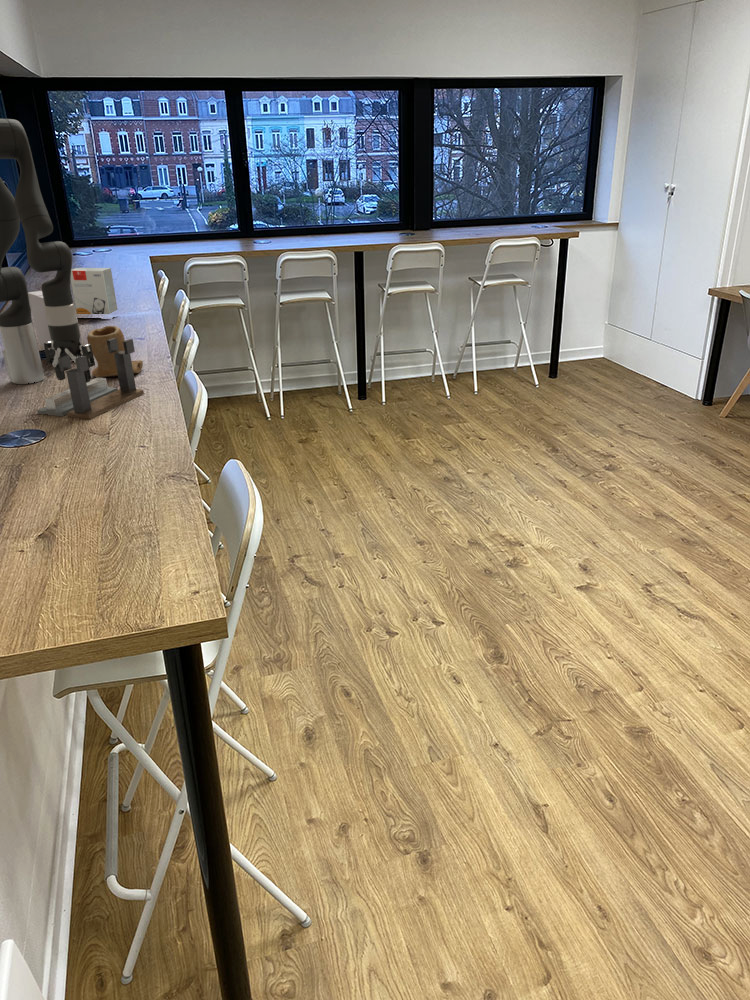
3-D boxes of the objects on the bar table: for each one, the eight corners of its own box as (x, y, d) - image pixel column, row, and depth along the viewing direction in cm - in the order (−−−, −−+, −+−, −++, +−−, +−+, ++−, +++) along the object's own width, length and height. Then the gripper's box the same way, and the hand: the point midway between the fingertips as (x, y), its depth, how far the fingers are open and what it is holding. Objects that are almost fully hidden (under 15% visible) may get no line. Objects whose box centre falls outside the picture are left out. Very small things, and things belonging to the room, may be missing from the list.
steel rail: (47, 409, 199) (44, 398, 198) (99, 387, 217) (97, 377, 215) (56, 410, 198) (53, 399, 197) (107, 388, 216) (105, 378, 214)
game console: (68, 363, 247) (55, 302, 239) (39, 349, 266) (26, 292, 258) (85, 360, 251) (73, 299, 242) (55, 347, 270) (43, 290, 261)
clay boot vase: (91, 383, 225) (81, 333, 219) (94, 372, 236) (85, 325, 229) (143, 378, 228) (135, 328, 222) (144, 368, 239) (136, 321, 232)
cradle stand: (68, 416, 196) (55, 357, 189) (123, 391, 215) (113, 337, 209) (89, 419, 194) (77, 359, 187) (143, 393, 213) (134, 338, 206)
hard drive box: (76, 319, 314) (67, 270, 306) (86, 315, 321) (76, 267, 313) (111, 319, 312) (102, 270, 303) (119, 315, 319) (111, 267, 310)
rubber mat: (37, 413, 199) (37, 410, 199) (95, 389, 219) (94, 385, 218) (61, 416, 197) (61, 412, 196) (117, 391, 216) (117, 387, 216)
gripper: (93, 320, 199) (104, 379, 206) (51, 317, 204) (63, 375, 211) (74, 326, 193) (86, 387, 200) (30, 322, 197) (43, 382, 204)
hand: (74, 380), depth 205 cm, fingers open, 8 cm apart
